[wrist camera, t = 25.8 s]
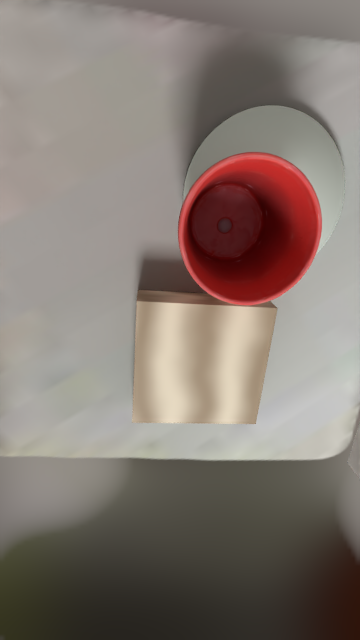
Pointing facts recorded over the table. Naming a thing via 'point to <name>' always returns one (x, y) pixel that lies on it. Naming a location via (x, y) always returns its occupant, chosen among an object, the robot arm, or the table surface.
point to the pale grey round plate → (280, 153)
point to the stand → (199, 358)
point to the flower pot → (249, 228)
